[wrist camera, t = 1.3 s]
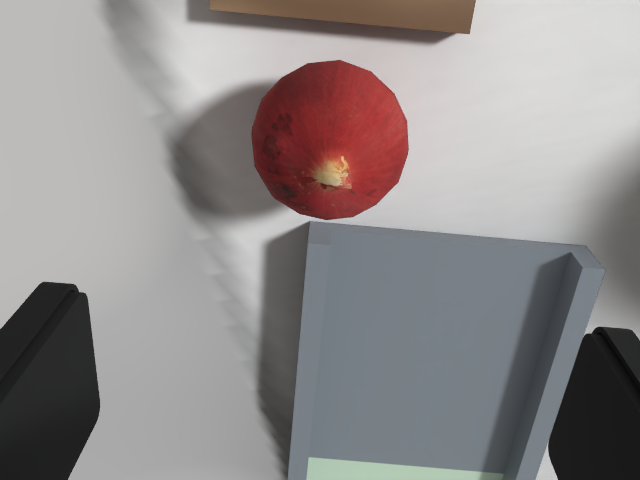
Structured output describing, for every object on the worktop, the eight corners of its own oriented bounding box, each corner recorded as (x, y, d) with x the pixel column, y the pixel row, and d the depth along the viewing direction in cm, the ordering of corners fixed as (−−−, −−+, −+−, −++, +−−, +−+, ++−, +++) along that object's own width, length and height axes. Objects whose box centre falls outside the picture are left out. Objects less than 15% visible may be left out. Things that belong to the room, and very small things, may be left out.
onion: (303, 200, 28) (291, 289, 21) (238, 88, 26) (198, 144, 18) (420, 143, 26) (450, 218, 19) (361, 20, 24) (370, 52, 17)
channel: (310, 221, 28) (306, 259, 25) (586, 245, 28) (619, 287, 25) (285, 506, 37) (280, 564, 33) (499, 524, 37) (515, 584, 33)
